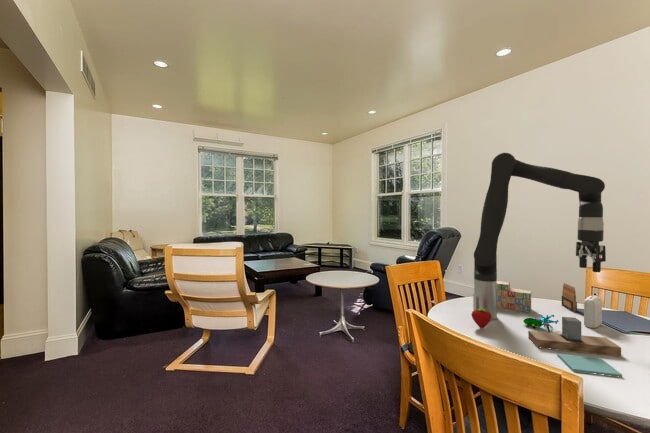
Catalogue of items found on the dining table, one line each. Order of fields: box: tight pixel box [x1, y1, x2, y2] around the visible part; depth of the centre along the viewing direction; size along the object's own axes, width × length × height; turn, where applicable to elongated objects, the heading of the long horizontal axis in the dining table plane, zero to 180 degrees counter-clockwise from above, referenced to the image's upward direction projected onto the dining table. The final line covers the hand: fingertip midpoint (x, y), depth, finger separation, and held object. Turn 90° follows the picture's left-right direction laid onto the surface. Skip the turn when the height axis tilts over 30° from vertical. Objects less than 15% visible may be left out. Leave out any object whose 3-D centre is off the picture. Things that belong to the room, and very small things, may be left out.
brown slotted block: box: [527, 330, 622, 357], centre depth 104 cm, size 24×8×3 cm, turn 73°
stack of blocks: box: [497, 280, 532, 313], centre depth 148 cm, size 21×6×12 cm, turn 50°
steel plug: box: [561, 316, 582, 342], centre depth 104 cm, size 4×4×10 cm
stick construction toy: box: [523, 313, 559, 333], centre depth 119 cm, size 12×7×8 cm
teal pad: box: [556, 353, 623, 378], centre depth 91 cm, size 12×10×1 cm
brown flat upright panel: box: [561, 282, 578, 313], centre depth 144 cm, size 11×2×12 cm, turn 164°
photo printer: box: [583, 295, 603, 329], centre depth 123 cm, size 10×4×12 cm, turn 123°
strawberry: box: [471, 304, 492, 329], centre depth 121 cm, size 6×8×10 cm
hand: (589, 269), depth 114 cm, fingers open, 8 cm apart
